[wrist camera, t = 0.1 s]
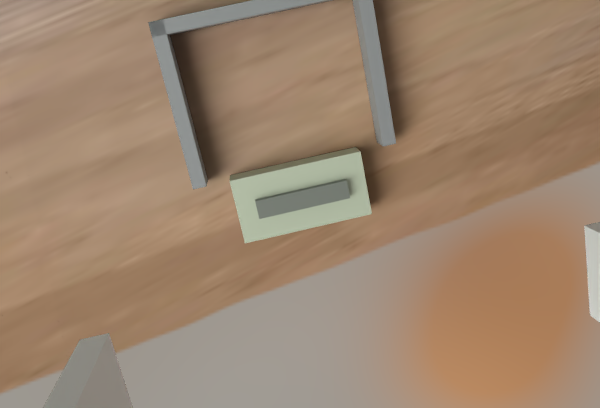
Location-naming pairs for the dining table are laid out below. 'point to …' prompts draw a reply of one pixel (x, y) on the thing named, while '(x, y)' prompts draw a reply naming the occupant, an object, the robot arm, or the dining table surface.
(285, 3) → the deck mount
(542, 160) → the dining table surface
